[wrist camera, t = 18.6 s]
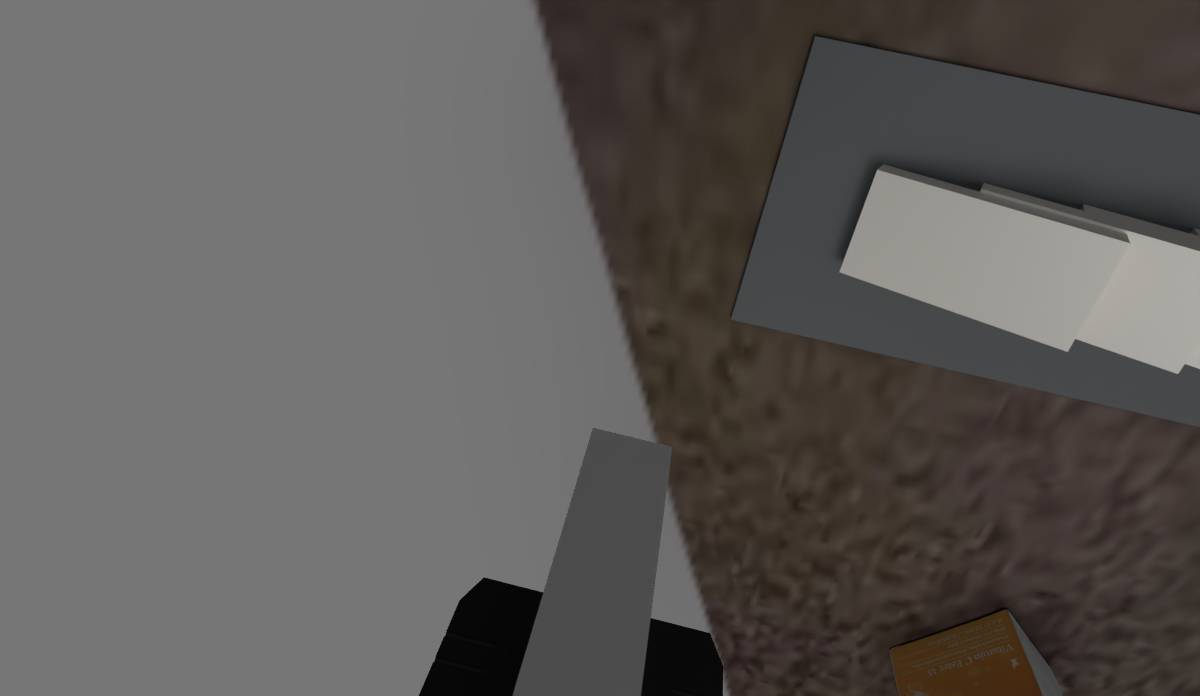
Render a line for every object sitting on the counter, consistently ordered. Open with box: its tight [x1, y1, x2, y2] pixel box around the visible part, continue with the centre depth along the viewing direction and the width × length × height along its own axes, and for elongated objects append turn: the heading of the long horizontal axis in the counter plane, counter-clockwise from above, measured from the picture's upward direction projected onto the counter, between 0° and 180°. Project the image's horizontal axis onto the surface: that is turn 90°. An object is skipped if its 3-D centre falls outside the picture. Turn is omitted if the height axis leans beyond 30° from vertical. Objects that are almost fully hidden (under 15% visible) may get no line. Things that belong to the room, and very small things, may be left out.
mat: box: [731, 36, 1200, 427], centre depth 34 cm, size 14×29×1 cm, turn 80°
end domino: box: [840, 164, 1130, 352], centre depth 32 cm, size 5×2×10 cm
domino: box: [980, 183, 1200, 374], centre depth 31 cm, size 5×2×10 cm
